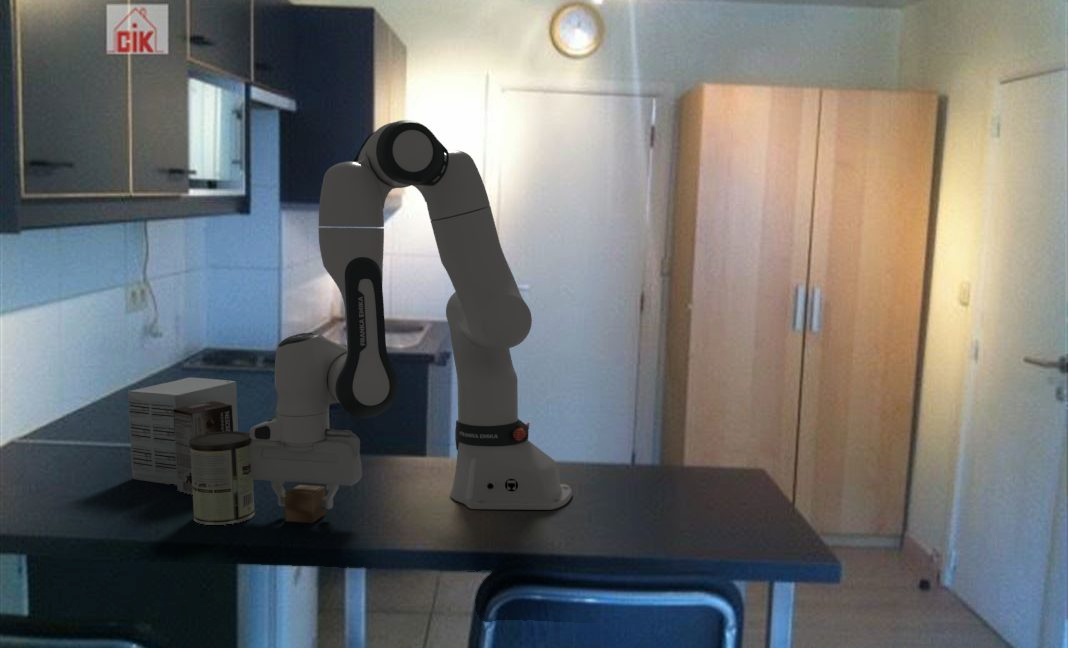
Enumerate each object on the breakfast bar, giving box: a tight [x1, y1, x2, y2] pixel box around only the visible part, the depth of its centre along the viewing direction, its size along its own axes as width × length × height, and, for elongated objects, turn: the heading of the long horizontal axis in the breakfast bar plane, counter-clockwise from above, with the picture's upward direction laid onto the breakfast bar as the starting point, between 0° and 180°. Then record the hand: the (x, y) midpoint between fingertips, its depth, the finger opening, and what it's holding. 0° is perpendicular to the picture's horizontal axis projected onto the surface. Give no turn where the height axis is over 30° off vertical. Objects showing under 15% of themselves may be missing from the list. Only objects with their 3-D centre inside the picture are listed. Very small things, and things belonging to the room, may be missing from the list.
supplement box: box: [127, 377, 239, 486], centre depth 196 cm, size 17×13×18 cm
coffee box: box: [173, 401, 233, 496], centre depth 184 cm, size 9×6×16 cm
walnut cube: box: [284, 484, 327, 524], centre depth 167 cm, size 5×5×5 cm
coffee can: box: [189, 430, 256, 526], centre depth 167 cm, size 10×10×14 cm
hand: (305, 506), depth 167 cm, fingers open, 7 cm apart
